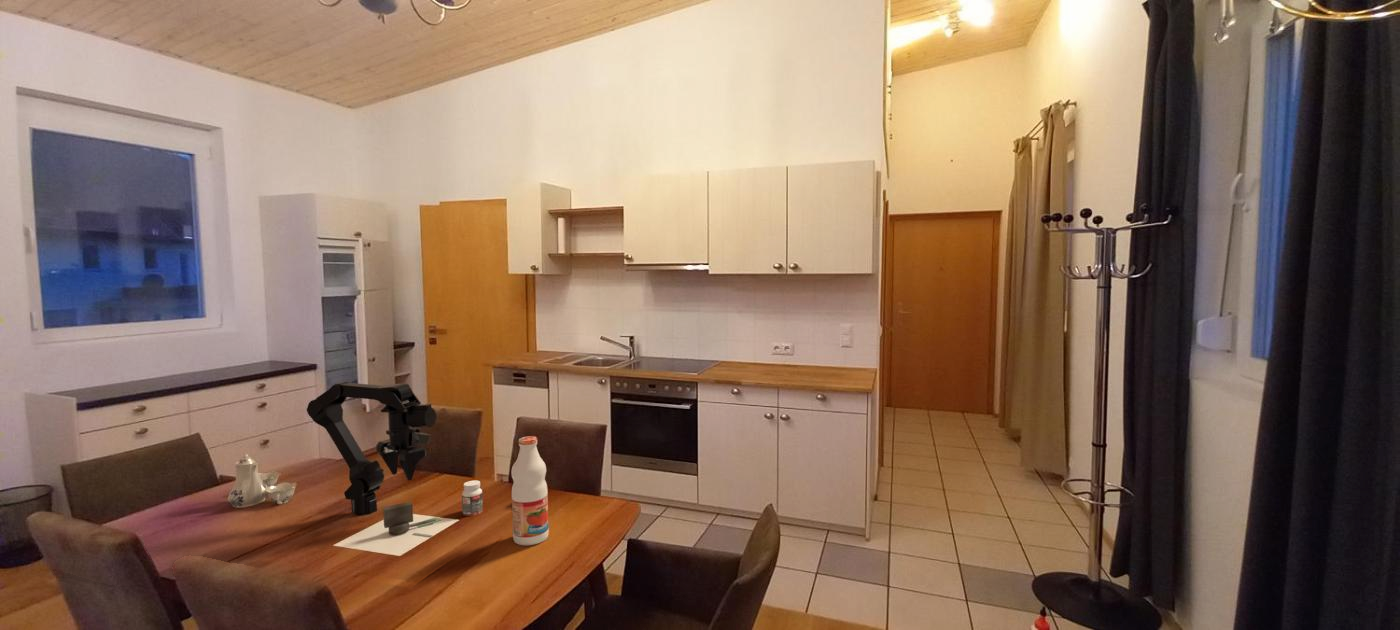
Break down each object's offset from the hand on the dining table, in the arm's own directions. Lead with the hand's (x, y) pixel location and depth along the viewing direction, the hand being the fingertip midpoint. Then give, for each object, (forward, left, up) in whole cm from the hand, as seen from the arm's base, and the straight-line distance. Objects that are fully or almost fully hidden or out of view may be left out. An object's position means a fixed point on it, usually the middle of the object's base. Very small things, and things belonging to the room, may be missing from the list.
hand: (402, 477), depth 169 cm
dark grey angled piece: (+11, -9, -11) cm, 18 cm away
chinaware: (-57, -2, -12) cm, 58 cm away
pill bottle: (+20, +6, -12) cm, 24 cm away
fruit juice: (+46, -3, -12) cm, 48 cm away
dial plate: (+9, -11, -12) cm, 19 cm away
